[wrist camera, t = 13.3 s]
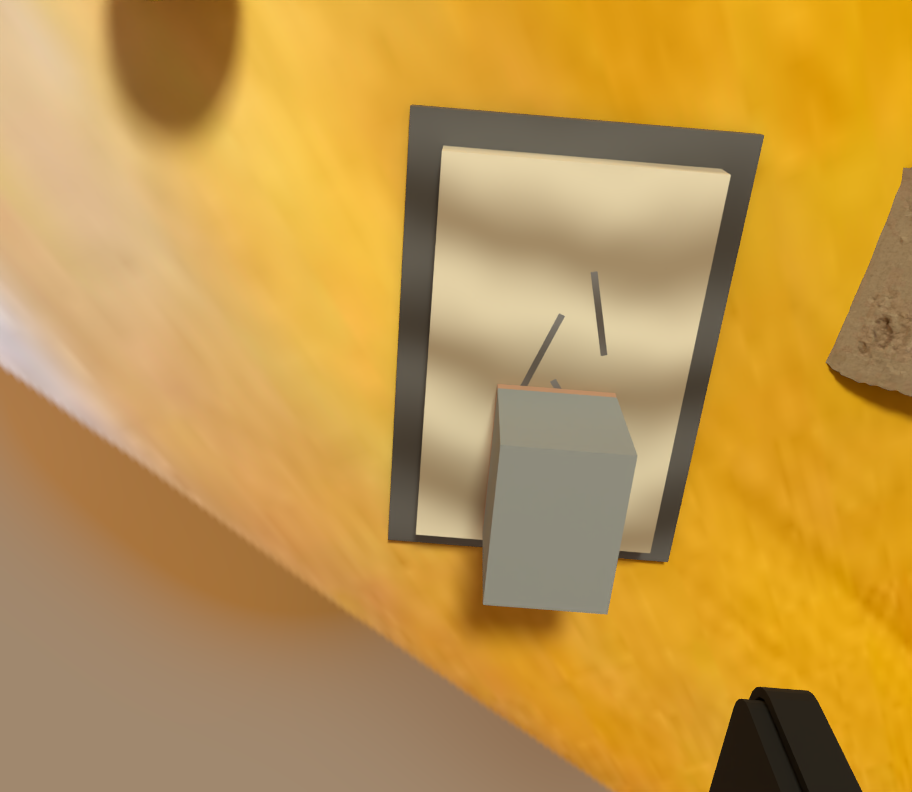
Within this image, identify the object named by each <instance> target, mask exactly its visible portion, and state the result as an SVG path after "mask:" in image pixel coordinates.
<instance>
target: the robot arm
mask: <svg viewBox="0 0 912 792" xmlns="http://www.w3.org/2000/svg"><path fill="white" fill-rule="evenodd" d="M709 792H862V790H861V788H860V786H859V784H858V782H857V780H856V778H855V776H854V774H853V772H852V770H851V768H850V766H849V764H848V762H847V760H846V758H845V756H844V754H843V752H842V750H841V748H840V745H839V743H838V741H837V739H836V737H835V735H834V733H833V731H832V729H831V727H830V725H829V723H828V721H827V719H826V717H825V715H824V713H823V711H822V709H821V707H820V705H819V703H818V701H817V700H816V698H815V696H814V695H813V694H812V693H810V692H809V691H805V690H792V689H779V688H767V687H756V688H755V689H754V690H753V691H752V693H751V696H750V698H749V700H747V699H739V700H738V701H737V702H736V703H735V706H734V709H733V712H732V715H731V719H730V722H729V726H728V729H727V732H726V736H725V739H724V743H723V746H722V750H721V753H720V756H719V760H718V763H717V767H716V770H715V773H714V777H713V780H712V784H711V787H710V790H709Z"/></svg>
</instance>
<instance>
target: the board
mask: <svg viewBox="0 0 912 792" xmlns="http://www.w3.org/2000/svg"><path fill="white" fill-rule="evenodd" d="M763 138H764V135H761V134H754V133H742V132H730V131H718V130H706V129H695V128H683V127H671V126H659V125H647V124H635V123H623V122H611V121H600V120H588V119H576V118H564V117H552V116H540V115H528V114H517V113H505V112H493V111H481V110H469V109H457V108H445V107H433V106H422V105H411V106H410V124H409V144H408V163H407V183H406V202H405V222H404V241H403V261H402V280H401V300H400V319H399V339H398V359H397V378H396V398H395V417H394V437H393V456H392V476H391V495H390V515H389V534H388V540H399V541H412V542H424V543H437V544H449V545H462V546H474V547H483V529H482V528H483V518H484V508H485V499H486V489H487V480H488V470H489V461H490V451H491V441H492V432H493V422H494V413H495V403H496V393H497V384H507V385H519V386H532V387H545V388H558V389H570V390H583V391H596V392H609V393H615V394H616V397H617V399H618V402H619V405H620V408H621V411H622V413H623V416H624V419H625V422H626V425H627V427H628V430H629V433H630V436H631V439H632V441H633V444H634V447H635V450H636V453H637V461H636V467H635V472H634V477H633V482H632V488H631V493H630V498H629V503H628V509H627V514H626V519H625V524H624V529H623V535H622V540H621V545H620V550H619V556H618V558H624V559H637V560H649V561H662V562H668V559H669V555H670V550H671V546H672V542H673V537H674V533H675V528H676V524H677V519H678V515H679V511H680V506H681V502H682V497H683V493H684V488H685V484H686V480H687V475H688V471H689V466H690V462H691V457H692V453H693V449H694V444H695V440H696V435H697V431H698V426H699V422H700V417H701V413H702V409H703V404H704V400H705V395H706V391H707V386H708V382H709V378H710V373H711V369H712V364H713V360H714V355H715V351H716V347H717V342H718V338H719V333H720V329H721V324H722V320H723V316H724V311H725V307H726V302H727V298H728V293H729V289H730V284H731V280H732V276H733V271H734V267H735V262H736V258H737V253H738V249H739V245H740V240H741V236H742V231H743V227H744V222H745V218H746V214H747V209H748V205H749V200H750V196H751V191H752V187H753V183H754V178H755V174H756V169H757V165H758V160H759V156H760V151H761V147H762V143H763Z"/></svg>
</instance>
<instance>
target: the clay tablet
mask: <svg viewBox="0 0 912 792" xmlns="http://www.w3.org/2000/svg"><path fill="white" fill-rule="evenodd" d="M826 363H827V364H829V365H830V367H831V368H832V369H833V370H836V371H838V372H840V374H841V375H843V376H845V377H848V378H850V379H853V380H854V381H856V382H858V383H864V382H865V383H867V384H868V385H870V386H871V385H877V386H879V387H881V388H883V389H887V390H897V391H899V392H900V393H903V394H905V395H909V396H912V168H903V175H902V182H901V185H900V188H899V190H898V192H897V194H896V196H895V199H894V202H893V205H892V208H891V211H890V214H889V216H888V219H887V222H886V224H885V226H884V228H883V231H882V233H881V235H880V237H879V240H878V243H877V245H876V248H875V251H874V254H873V256H872V259H871V261H870V264H869V266H868V268H867V271H866V273H865V275H864V278H863V280H862V282H861V284H860V286H859V289H858V291H857V293H856V295H855V297H854V300H853V302H852V305H851V307H850V311H849V313H848V315H847V317H846V319H845V322H844V324H843V326H842V328H841V331H840V333H839V335H838V337H837V340H836V343H835V345H834V347H833V349H832V351H831V353H830V355H829V357H828V359H827V361H826Z"/></svg>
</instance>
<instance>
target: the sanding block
mask: <svg viewBox="0 0 912 792" xmlns="http://www.w3.org/2000/svg"><path fill="white" fill-rule="evenodd" d="M636 461H637V453H636V450H635V447H634V444H633V441H632V439H631V436H630V433H629V430H628V427H627V425H626V422H625V419H624V416H623V413H622V411H621V408H620V405H619V402H618V399H617V397H616V394H615V393H609V392H596V391H583V390H570V389H558V388H545V387H532V386H519V385H507V384H497V393H496V403H495V413H494V422H493V432H492V441H491V451H490V461H489V470H488V480H487V489H486V499H485V508H484V518H483V528H482V529H483V605H492V606H505V607H519V608H532V609H545V610H558V611H571V612H584V613H597V614H607V613H608V608H609V603H610V598H611V592H612V587H613V582H614V577H615V571H616V566H617V561H618V556H619V550H620V545H621V540H622V535H623V529H624V524H625V519H626V514H627V509H628V503H629V498H630V493H631V488H632V482H633V477H634V472H635V467H636Z"/></svg>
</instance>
